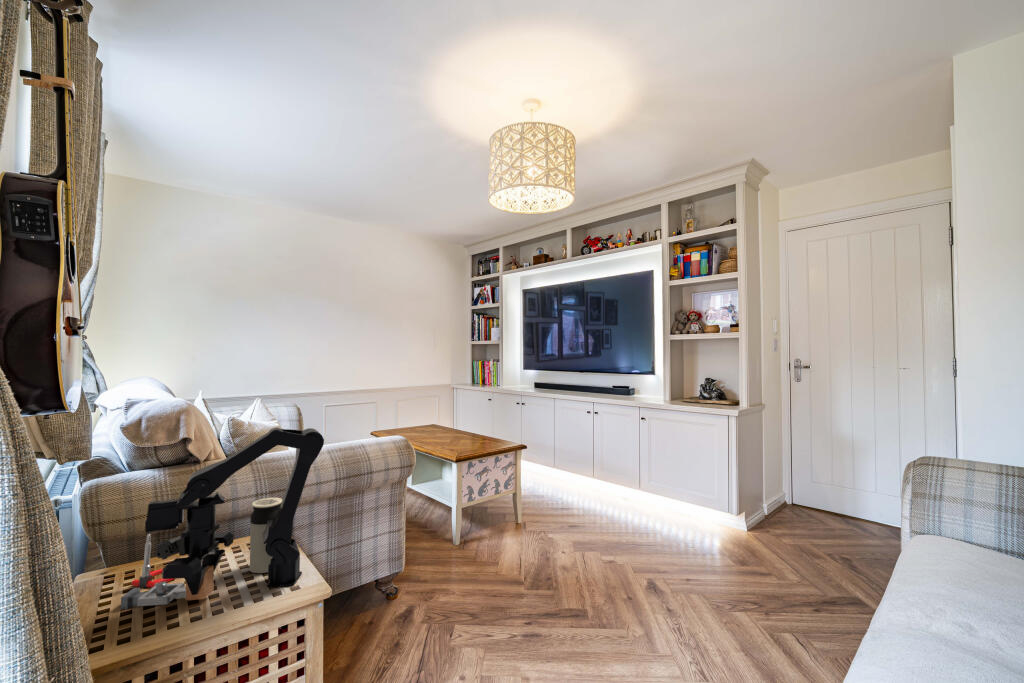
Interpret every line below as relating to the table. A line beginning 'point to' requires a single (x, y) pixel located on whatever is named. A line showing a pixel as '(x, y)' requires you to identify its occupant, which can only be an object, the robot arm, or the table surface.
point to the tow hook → (148, 570)
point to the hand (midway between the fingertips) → (200, 589)
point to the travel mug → (261, 532)
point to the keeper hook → (135, 593)
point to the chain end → (179, 591)
